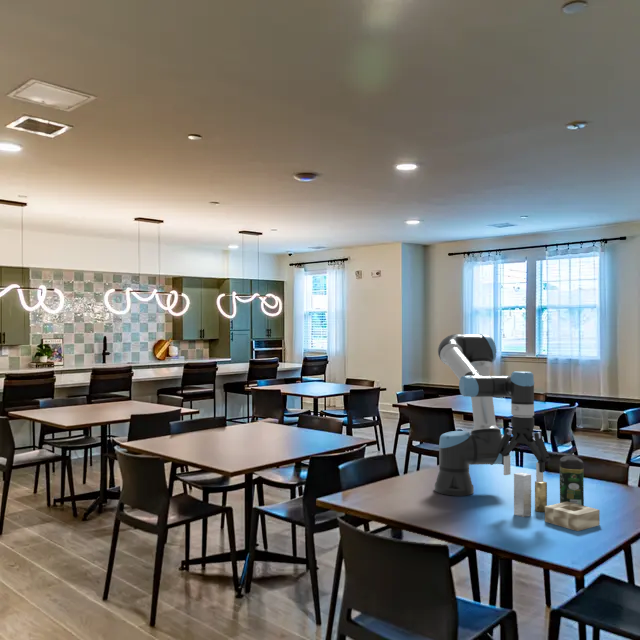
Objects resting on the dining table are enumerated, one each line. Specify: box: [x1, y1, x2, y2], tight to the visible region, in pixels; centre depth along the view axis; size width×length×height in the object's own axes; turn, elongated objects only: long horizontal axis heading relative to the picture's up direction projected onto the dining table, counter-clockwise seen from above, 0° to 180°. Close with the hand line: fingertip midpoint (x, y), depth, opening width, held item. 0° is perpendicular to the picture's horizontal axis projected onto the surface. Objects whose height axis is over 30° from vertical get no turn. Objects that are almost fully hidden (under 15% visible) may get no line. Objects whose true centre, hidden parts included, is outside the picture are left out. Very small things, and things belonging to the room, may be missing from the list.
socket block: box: [544, 502, 601, 532], centre depth 203 cm, size 12×12×5 cm
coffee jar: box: [559, 455, 585, 506], centre depth 221 cm, size 10×8×19 cm
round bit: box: [534, 480, 548, 513], centre depth 218 cm, size 4×4×10 cm
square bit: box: [513, 472, 532, 518], centre depth 212 cm, size 4×4×14 cm
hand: (523, 478), depth 212 cm, fingers open, 13 cm apart
